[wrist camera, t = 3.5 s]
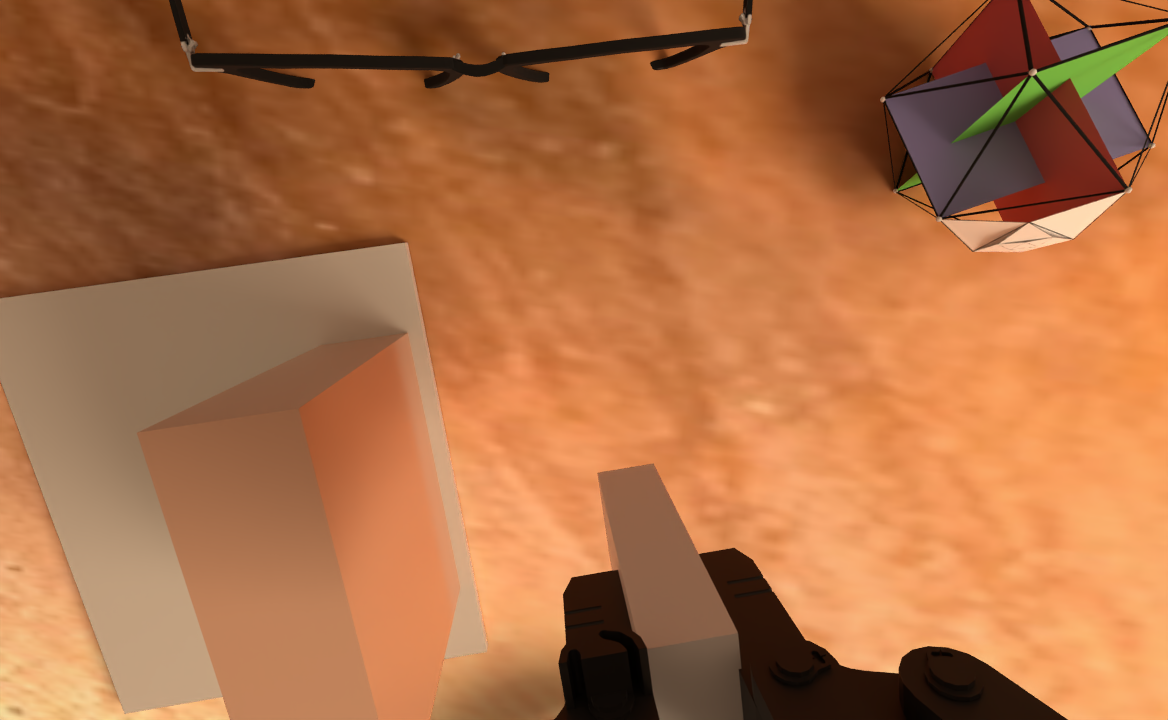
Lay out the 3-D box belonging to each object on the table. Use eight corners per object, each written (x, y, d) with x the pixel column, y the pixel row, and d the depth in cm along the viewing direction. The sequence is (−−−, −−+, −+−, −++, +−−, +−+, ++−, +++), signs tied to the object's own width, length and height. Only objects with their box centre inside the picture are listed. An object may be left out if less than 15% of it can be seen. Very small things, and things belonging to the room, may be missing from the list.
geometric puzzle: (852, -14, 17) (1065, 100, 12) (1069, -89, 17) (1378, -8, 12) (824, 188, 22) (961, 326, 17) (988, 132, 22) (1174, 253, 17)
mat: (-18, 300, 19) (-30, 302, 18) (407, 242, 19) (404, 242, 19) (131, 705, 22) (124, 713, 22) (487, 644, 23) (486, 652, 22)
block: (318, 345, 19) (134, 433, 11) (407, 332, 19) (298, 408, 11) (380, 600, 21) (270, 849, 13) (460, 587, 22) (405, 824, 13)
